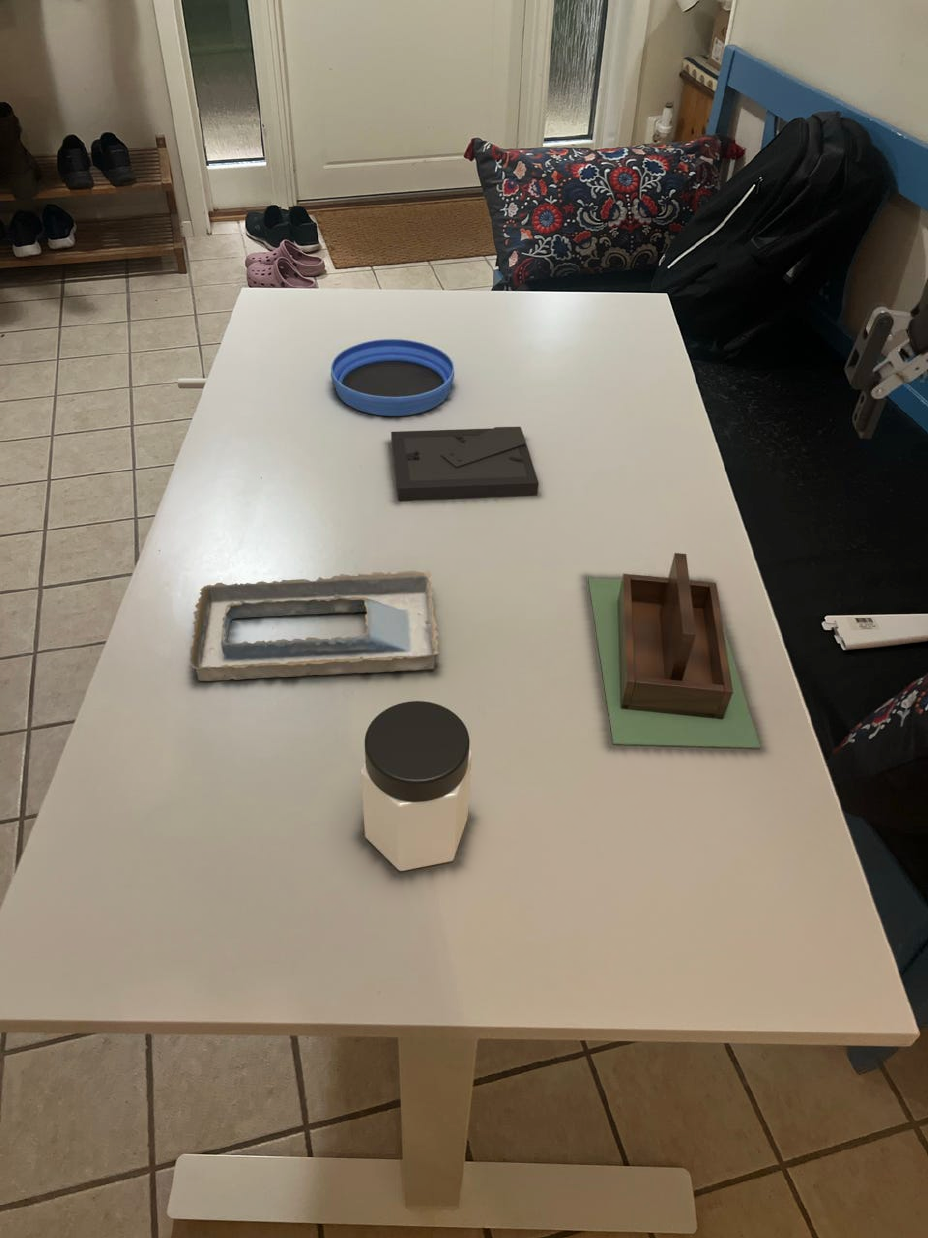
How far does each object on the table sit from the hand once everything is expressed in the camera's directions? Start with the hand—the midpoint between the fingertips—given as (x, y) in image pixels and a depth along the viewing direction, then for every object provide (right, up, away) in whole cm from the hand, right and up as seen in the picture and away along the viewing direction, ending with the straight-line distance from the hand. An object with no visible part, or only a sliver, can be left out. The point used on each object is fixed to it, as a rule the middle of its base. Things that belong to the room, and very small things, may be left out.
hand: (915, 438), depth 72 cm
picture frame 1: (-52, -17, +21) cm, 59 cm away
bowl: (-47, +19, +60) cm, 79 cm away
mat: (-16, -19, +20) cm, 32 cm away
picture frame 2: (-37, +5, +45) cm, 58 cm away
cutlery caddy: (-16, -19, +20) cm, 32 cm away
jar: (-41, -33, +4) cm, 53 cm away
